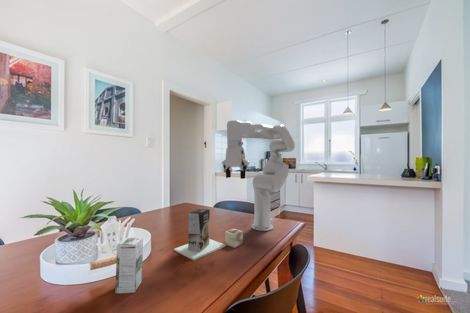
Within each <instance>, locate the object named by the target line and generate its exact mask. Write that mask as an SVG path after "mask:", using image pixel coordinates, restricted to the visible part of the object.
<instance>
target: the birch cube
mask: <svg viewBox="0 0 470 313" xmlns="http://www.w3.org/2000/svg"><path fill="white" fill-rule="evenodd" d="M224 233H225V234H224V235H225V237H224V238H225V240H224V241H225V242H224V244H225V246H229V247H231V248H237V247H240V246H241V245H243V244H244V230H239V229H237V228H231V229H229V230H226V231H224Z"/></svg>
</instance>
